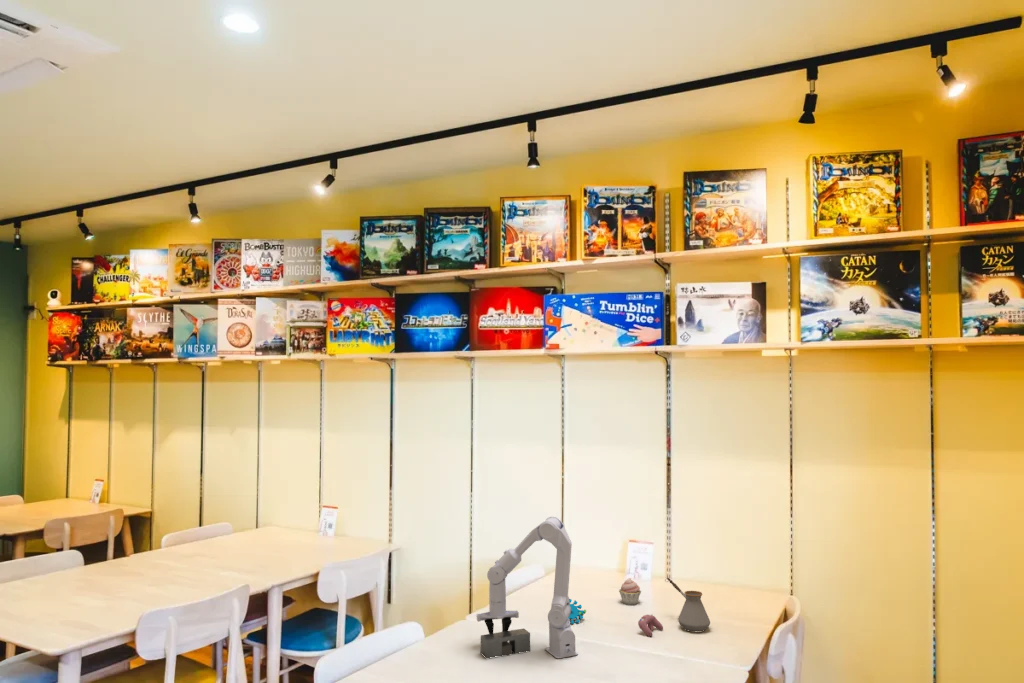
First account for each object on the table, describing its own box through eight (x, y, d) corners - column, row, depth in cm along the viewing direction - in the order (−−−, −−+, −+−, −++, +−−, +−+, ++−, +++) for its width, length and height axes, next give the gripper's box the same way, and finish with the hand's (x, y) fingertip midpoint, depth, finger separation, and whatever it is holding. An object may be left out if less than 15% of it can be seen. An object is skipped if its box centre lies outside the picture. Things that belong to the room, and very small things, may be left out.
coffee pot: (717, 631, 248) (716, 589, 249) (692, 636, 243) (691, 593, 244) (679, 614, 267) (678, 575, 268) (655, 618, 263) (654, 578, 264)
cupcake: (643, 606, 277) (643, 581, 278) (620, 606, 278) (620, 581, 278) (639, 599, 287) (639, 575, 287) (617, 599, 287) (617, 575, 288)
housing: (530, 651, 230) (530, 633, 231) (486, 659, 224) (486, 640, 224) (524, 646, 235) (524, 628, 235) (480, 653, 229) (480, 635, 229)
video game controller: (654, 632, 252) (646, 613, 254) (664, 629, 249) (656, 609, 252) (642, 640, 244) (633, 620, 247) (652, 636, 242) (644, 616, 244)
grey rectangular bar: (511, 654, 227) (511, 645, 228) (501, 656, 226) (501, 647, 226) (501, 643, 238) (501, 634, 238) (491, 644, 237) (491, 635, 237)
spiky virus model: (560, 621, 255) (557, 596, 262) (556, 629, 259) (554, 604, 266) (588, 624, 257) (585, 599, 264) (584, 631, 260) (581, 606, 268)
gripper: (479, 605, 231) (479, 646, 230) (520, 601, 235) (521, 642, 234) (475, 599, 238) (475, 639, 237) (515, 595, 242) (515, 635, 241)
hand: (497, 640), depth 236 cm, fingers closed on grey rectangular bar, 4 cm apart
